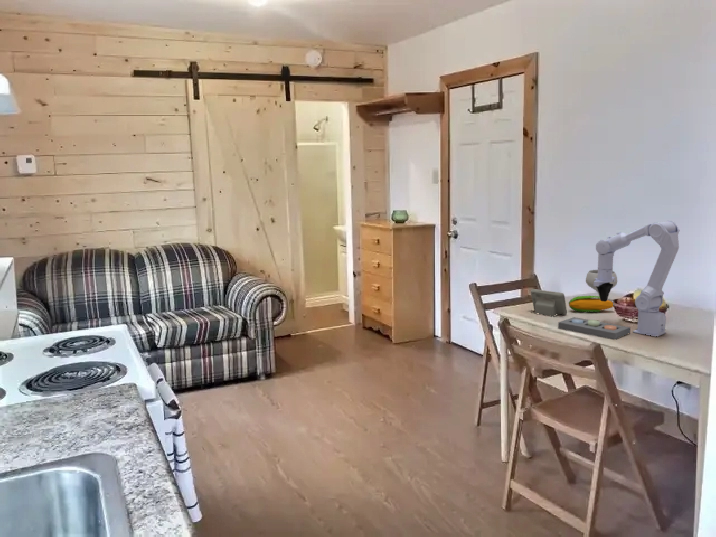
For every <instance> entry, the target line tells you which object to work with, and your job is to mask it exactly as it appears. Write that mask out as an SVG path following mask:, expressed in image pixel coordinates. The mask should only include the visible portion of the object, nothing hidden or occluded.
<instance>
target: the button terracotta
mask: <svg viewBox="0 0 716 537" xmlns="http://www.w3.org/2000/svg"><path fill="white" fill-rule="evenodd" d="M604 329H609V330H616V329H617V327H616V326H613V325H605V326H604Z"/></svg>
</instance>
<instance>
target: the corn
mask: <svg viewBox="0 0 716 537" xmlns="http://www.w3.org/2000/svg"><path fill="white" fill-rule="evenodd" d="M597 298H600V297H599V295H598V296H596V295H581V296H580V295H578V296H575V297H573V298H570V300H569V302H568V306H569V308H570V310H572V311H575V312H578V313H600V312H601V311H605V310H608V309H612V308H614V306H613V302H614V301H613V302H611V301H612V300H611V301H609V300H610V299H607V301H601V300H600V299H597Z"/></svg>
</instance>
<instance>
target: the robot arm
mask: <svg viewBox="0 0 716 537" xmlns="http://www.w3.org/2000/svg"><path fill="white" fill-rule="evenodd" d="M679 232H680V229H679V227H678V225H677V224H676V222H675V221H672V220H666V221H660V222H659V221H657V222H652V223H648V224H646V225H642V226H641V227H639V228H637V229H635V230H633V231H631V232H628V233H627V232H622V231H619V232H616V235H613V236H608V237H606V239H600V240H599V241H597V243H596V244H595V250H596V252H597V255H598V257H597V270H598V275H597V278H595V281H594V286H596V287H597V289H598V292H599V294H598V296H599V295H600V300H601V301H607V300H609V299H608V298H609V295H610V293H611V290H612V289H613V288H614V287H613V284H610V282H615V277H612V272H613V271H614V269H613V267H614V256H615V252H616V251H618V250H621V249H623V248H625V247H629V246H630V245H631V242H632V241H635V240H637V239H638V240H639V239H640V238H644V237H650V238H652V239H653V240H654V241H655V242H656V243H657V244H658V245H659V247H660V249H661V250H660V252H659V254H658V257H657V259H656V262H655V265H654V267H653V269H652V272H651V275H650V277H649V279H648V282H647V284H646V286H645V287H644V288H642V290H641V291H640V294H638V296H636V297H635V300H634V304H635V307H636V308H637V312H638V313H637V326H636V327H637V329H634V330H632V332H633V333H634V334H641V335H645V334H646V335H647V336H650V335H651V336H652V337H656V336H657V337H659V336H662V335H664V334H666V333H667V332H666V320H667V318H666V317H667V316H666V313H664V312H661V311H660V307H661V306H662V304H663V302H664V299H663V297H664V294H665V293H664V291H663V288H664V286H665V282H666V280H667V278H668V275H669V274H670V270H671V268H672V266H673V264H674V262H675V259H676V256H677V254H678V251H679V248H680V245H679V234H680V233H679ZM612 287H613V288H612ZM598 292H597V293H598Z"/></svg>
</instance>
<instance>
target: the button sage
mask: <svg viewBox="0 0 716 537" xmlns="http://www.w3.org/2000/svg"><path fill="white" fill-rule="evenodd" d="M587 320H588V326H593V327H598V326H600V322H601V321H600V320H599V319H598V320H597V319H587Z"/></svg>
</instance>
